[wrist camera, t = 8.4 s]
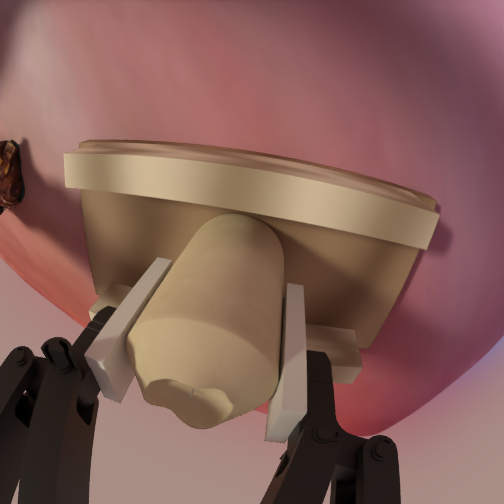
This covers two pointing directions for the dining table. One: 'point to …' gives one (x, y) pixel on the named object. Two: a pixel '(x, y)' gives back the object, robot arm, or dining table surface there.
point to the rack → (266, 210)
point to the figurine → (10, 175)
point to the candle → (214, 325)
